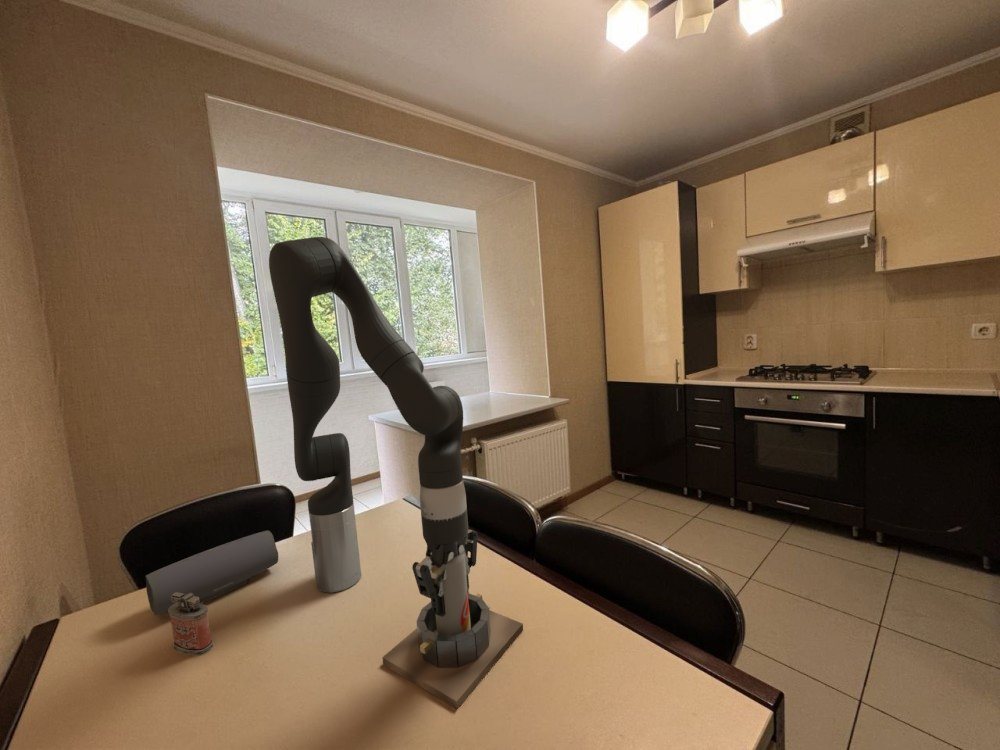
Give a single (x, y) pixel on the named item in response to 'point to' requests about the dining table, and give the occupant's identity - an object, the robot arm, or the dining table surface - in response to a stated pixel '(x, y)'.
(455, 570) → the lotion bottle
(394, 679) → the dining table surface
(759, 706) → the dining table surface
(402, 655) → the base plate
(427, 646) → the ring
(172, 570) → the bluetooth speaker
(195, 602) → the lighter
